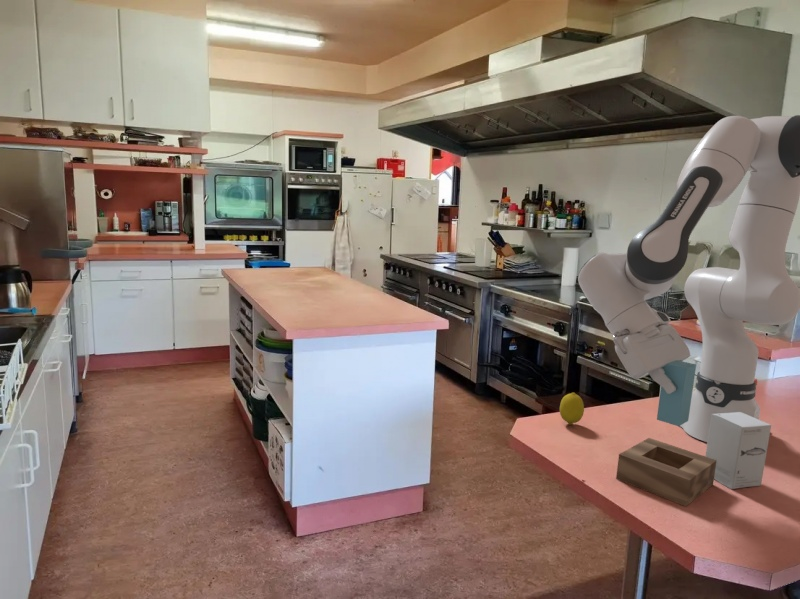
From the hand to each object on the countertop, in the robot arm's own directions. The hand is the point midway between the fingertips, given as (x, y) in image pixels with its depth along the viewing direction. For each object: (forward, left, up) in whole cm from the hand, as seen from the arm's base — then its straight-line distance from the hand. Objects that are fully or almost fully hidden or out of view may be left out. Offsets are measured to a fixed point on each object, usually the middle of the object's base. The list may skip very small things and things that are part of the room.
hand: (680, 388), depth 107 cm
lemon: (-11, -28, -19) cm, 35 cm away
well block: (0, -1, -19) cm, 19 cm away
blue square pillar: (0, -1, -6) cm, 6 cm away
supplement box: (-12, +7, -19) cm, 24 cm away
